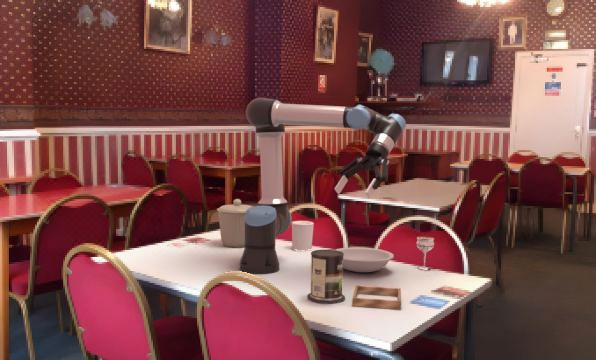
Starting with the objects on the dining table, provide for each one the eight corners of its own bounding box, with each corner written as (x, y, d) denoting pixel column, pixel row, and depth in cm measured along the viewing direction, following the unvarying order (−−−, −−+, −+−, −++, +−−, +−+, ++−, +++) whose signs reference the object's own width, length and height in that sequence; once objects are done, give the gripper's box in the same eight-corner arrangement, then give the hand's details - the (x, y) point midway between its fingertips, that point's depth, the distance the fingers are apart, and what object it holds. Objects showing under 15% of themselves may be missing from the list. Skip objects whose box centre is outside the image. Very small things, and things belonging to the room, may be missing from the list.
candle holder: (313, 251, 251) (313, 224, 250) (290, 251, 251) (291, 224, 250) (313, 247, 261) (313, 221, 259) (291, 246, 261) (291, 220, 260)
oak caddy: (352, 306, 175) (352, 298, 175) (355, 292, 190) (355, 285, 189) (400, 309, 173) (401, 301, 173) (400, 295, 187) (400, 288, 187)
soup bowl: (318, 266, 224) (318, 250, 224) (368, 261, 236) (368, 245, 235) (353, 281, 203) (354, 263, 203) (406, 274, 215) (407, 257, 215)
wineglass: (412, 267, 228) (413, 237, 227) (426, 266, 230) (428, 236, 229) (421, 271, 221) (422, 240, 220) (436, 270, 224) (437, 239, 223)
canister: (232, 251, 248) (232, 202, 246) (208, 244, 261) (209, 198, 259) (264, 246, 260) (265, 200, 258) (240, 239, 273) (241, 195, 271)
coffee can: (344, 293, 187) (345, 250, 186) (340, 302, 177) (341, 257, 176) (312, 290, 189) (314, 248, 188) (307, 299, 179) (308, 254, 178)
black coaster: (304, 302, 178) (304, 300, 178) (310, 291, 190) (310, 289, 190) (343, 305, 176) (343, 303, 176) (346, 294, 188) (346, 292, 188)
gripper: (412, 158, 201) (385, 204, 191) (356, 154, 218) (329, 196, 209) (405, 143, 196) (376, 189, 187) (348, 140, 214) (320, 182, 204)
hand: (351, 193), depth 198 cm, fingers open, 13 cm apart
